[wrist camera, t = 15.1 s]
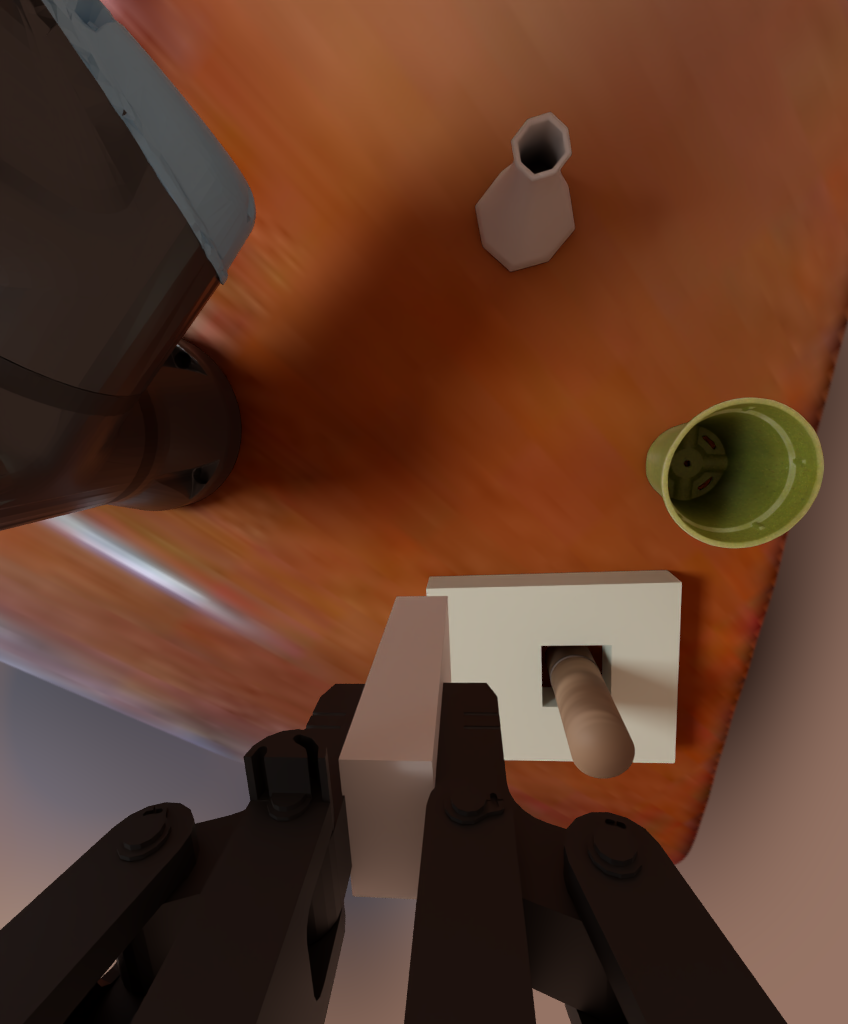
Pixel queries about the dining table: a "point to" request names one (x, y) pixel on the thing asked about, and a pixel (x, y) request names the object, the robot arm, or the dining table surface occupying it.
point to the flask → (529, 197)
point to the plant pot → (738, 472)
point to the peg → (588, 713)
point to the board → (563, 622)
